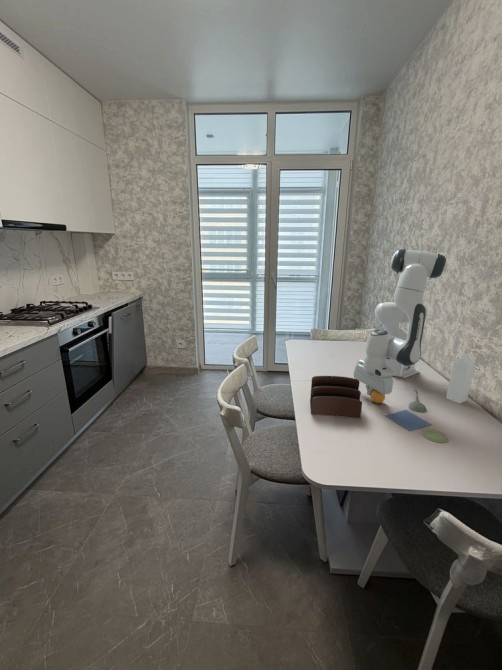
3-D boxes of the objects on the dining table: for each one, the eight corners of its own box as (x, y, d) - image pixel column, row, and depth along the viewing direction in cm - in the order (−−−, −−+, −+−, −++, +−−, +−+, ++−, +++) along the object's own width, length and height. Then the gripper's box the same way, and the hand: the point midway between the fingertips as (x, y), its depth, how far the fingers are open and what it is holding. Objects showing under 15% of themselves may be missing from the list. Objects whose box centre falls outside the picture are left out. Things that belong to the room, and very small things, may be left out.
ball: (374, 395, 142) (378, 385, 139) (385, 403, 138) (389, 393, 135) (366, 399, 139) (369, 388, 136) (376, 407, 135) (380, 397, 132)
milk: (466, 401, 140) (477, 355, 134) (459, 404, 138) (470, 357, 131) (452, 395, 146) (462, 351, 139) (445, 398, 143) (455, 353, 137)
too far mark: (432, 428, 118) (432, 427, 118) (453, 439, 111) (453, 439, 111) (418, 432, 115) (418, 432, 115) (438, 445, 108) (438, 444, 108)
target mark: (405, 410, 131) (405, 409, 131) (431, 424, 121) (431, 424, 121) (384, 415, 127) (384, 415, 127) (409, 431, 116) (409, 430, 116)
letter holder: (309, 403, 137) (312, 373, 133) (356, 407, 134) (359, 377, 130) (310, 414, 127) (313, 383, 123) (360, 419, 124) (364, 387, 121)
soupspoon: (408, 413, 132) (425, 417, 129) (409, 406, 130) (427, 410, 128) (407, 390, 150) (423, 394, 148) (409, 384, 149) (424, 388, 147)
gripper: (352, 359, 145) (348, 386, 148) (385, 375, 127) (380, 406, 130) (362, 358, 147) (359, 384, 151) (397, 373, 129) (392, 403, 133)
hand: (369, 394), depth 140 cm, fingers closed
